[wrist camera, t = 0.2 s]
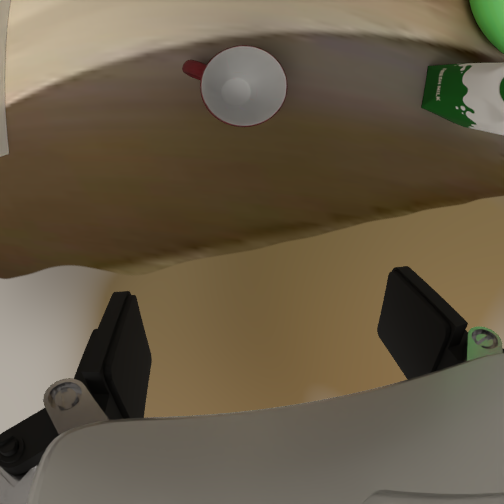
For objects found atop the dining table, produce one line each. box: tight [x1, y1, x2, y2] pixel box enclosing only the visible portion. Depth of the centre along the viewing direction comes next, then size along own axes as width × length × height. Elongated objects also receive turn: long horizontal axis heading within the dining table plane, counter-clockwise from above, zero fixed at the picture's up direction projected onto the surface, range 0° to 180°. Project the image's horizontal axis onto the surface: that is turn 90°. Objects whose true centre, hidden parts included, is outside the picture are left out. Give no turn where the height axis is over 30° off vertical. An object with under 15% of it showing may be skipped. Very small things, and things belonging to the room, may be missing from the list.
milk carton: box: [421, 62, 504, 135], centre depth 29 cm, size 9×9×20 cm
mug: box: [182, 45, 287, 127], centre depth 31 cm, size 10×8×10 cm
